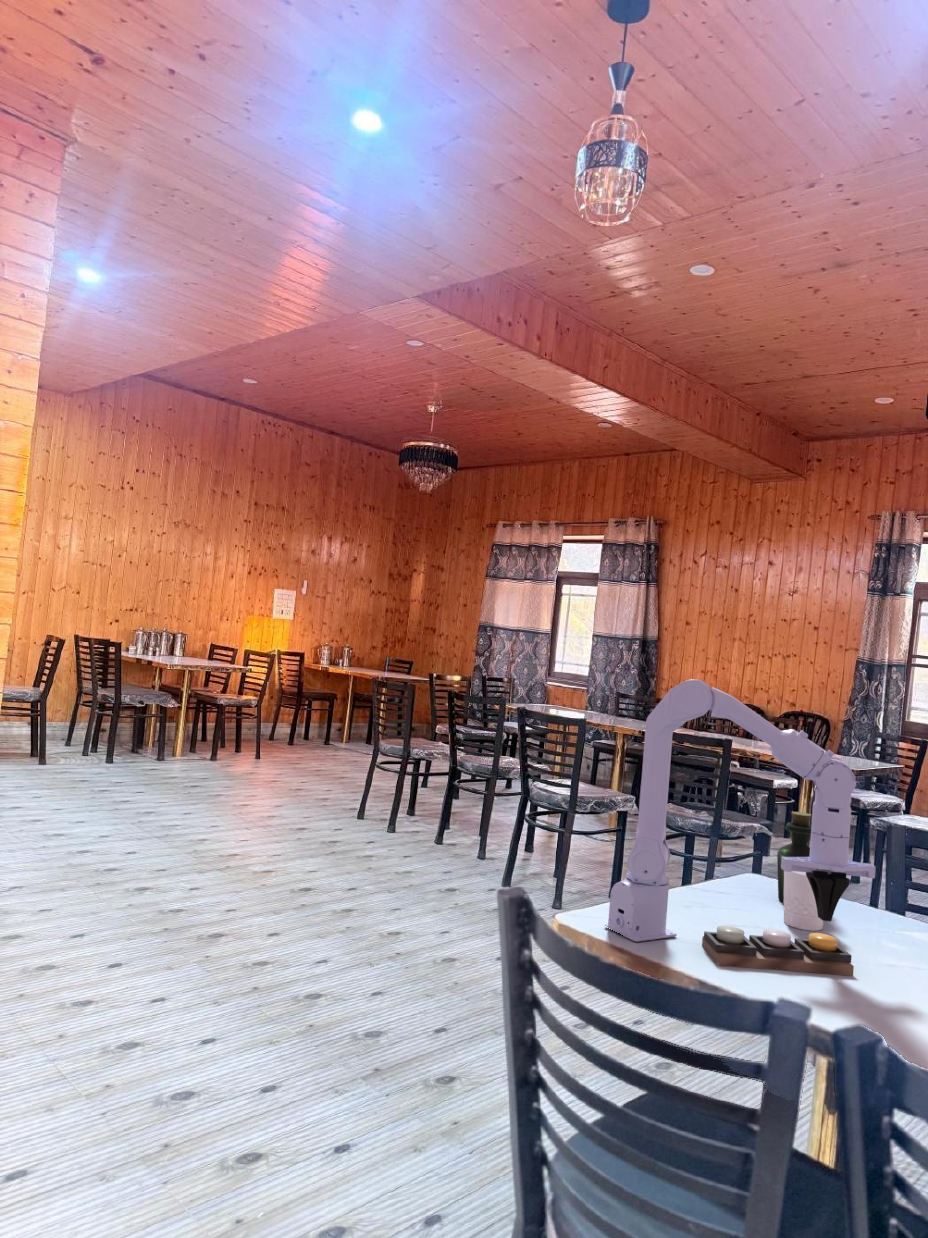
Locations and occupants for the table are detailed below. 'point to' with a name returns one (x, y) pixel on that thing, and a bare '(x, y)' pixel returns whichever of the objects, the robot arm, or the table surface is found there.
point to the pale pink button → (776, 938)
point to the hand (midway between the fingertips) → (824, 919)
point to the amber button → (823, 941)
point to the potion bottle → (794, 845)
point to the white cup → (800, 902)
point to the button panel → (777, 955)
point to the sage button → (730, 934)
